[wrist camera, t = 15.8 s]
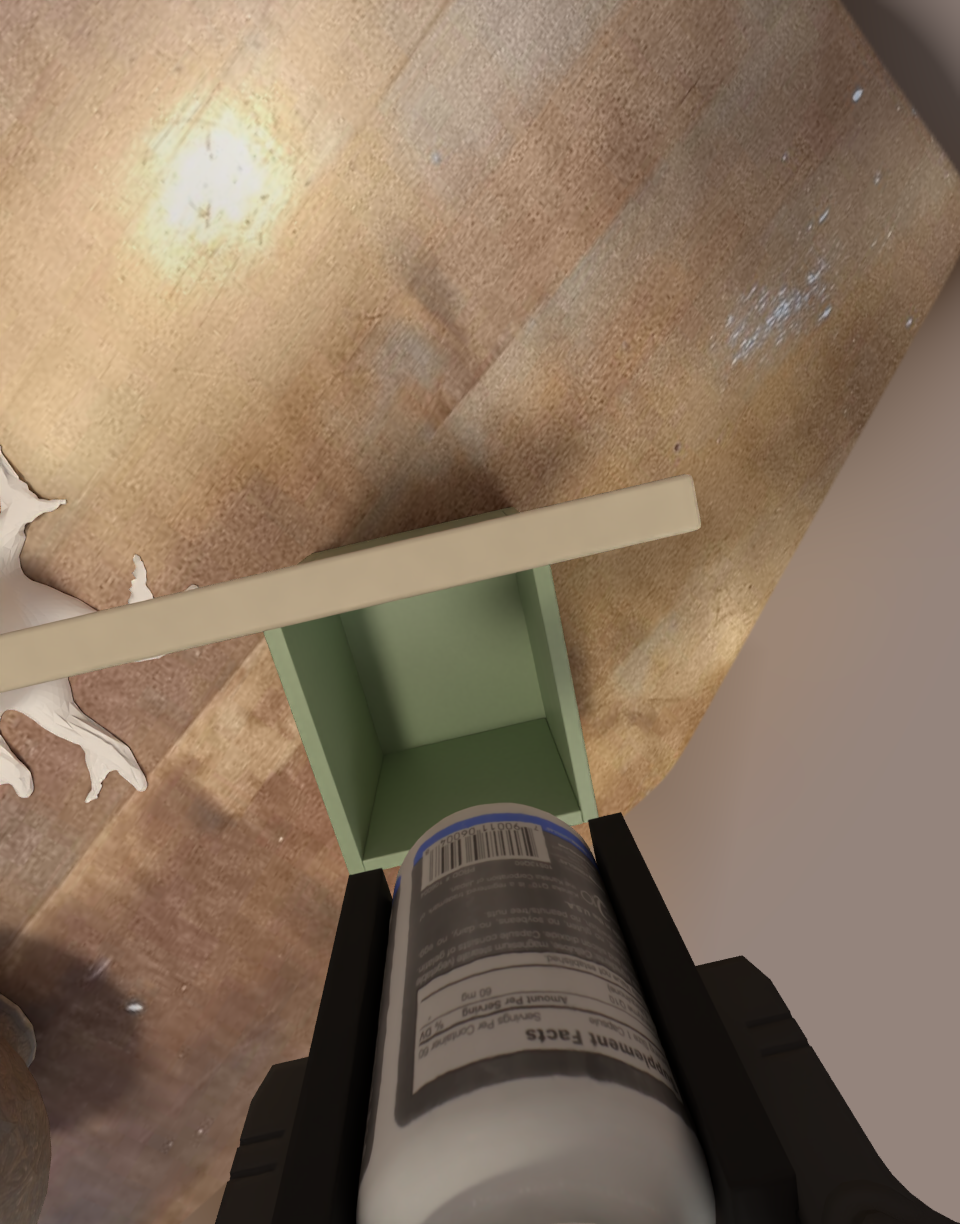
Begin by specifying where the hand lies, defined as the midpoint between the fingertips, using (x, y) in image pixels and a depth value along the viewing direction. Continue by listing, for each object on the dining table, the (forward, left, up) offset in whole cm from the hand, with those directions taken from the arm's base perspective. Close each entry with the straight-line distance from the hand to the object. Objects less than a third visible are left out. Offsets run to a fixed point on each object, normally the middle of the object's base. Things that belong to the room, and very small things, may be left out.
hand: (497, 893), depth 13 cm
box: (+2, +2, -24) cm, 24 cm away
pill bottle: (0, 0, 0) cm, 0 cm away
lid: (+2, -7, -5) cm, 8 cm away
